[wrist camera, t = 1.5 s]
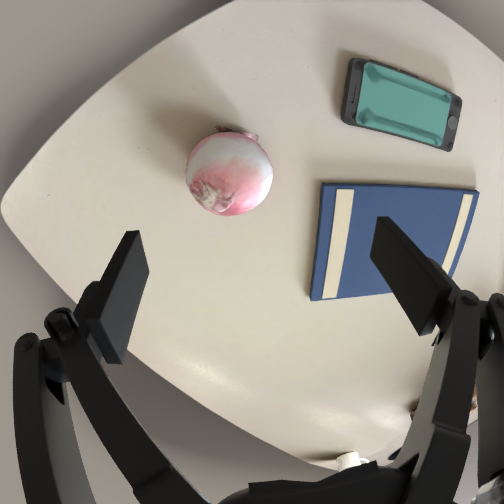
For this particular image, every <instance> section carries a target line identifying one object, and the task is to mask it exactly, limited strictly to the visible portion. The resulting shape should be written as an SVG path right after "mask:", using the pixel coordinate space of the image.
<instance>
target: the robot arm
mask: <svg viewBox="0 0 504 504" xmlns="http://www.w3.org/2000/svg"><path fill="white" fill-rule="evenodd" d="M370 259H371V260H372V262H373V263H374V265H375V266H376V268H377V269H378V271H379V272H380V274H381V275H382V277H383V278H384V280H385V281H386V283H387V284H388V286H389V287H390V289H391V290H392V292H393V294H394V295H395V297H396V298H397V300H398V302H399V303H400V305H401V306H402V308H403V310H404V311H405V313H406V315H407V316H408V318H409V320H410V321H411V323H412V325H413V326H414V328H415V330H416V331H417V333H418V335H419V336H423V335H427V334H431V333H432V332H433V330H434V328H435V326H436V324H437V325H438V327H439V329H440V330H439V332H438V334H437V336H436V338H435V340H434V342H433V344H432V345H431V346H434V344H435V347H434V351H433V355H432V359H431V363H430V367H429V371H428V374H427V378H426V381H425V384H424V388H423V391H422V394H421V397H420V400H419V404H418V406H417V409H416V412H415V415H414V418H413V421H412V423H411V426H410V429H409V431H408V434H407V436H406V439H405V441H404V444H403V446H402V448H401V451H400V453H399V454H398V456H397V457H396V459H395V460H394V462H393V463H392V465H391V466H390V467H387V466H378V465H377V462H376V460H375V461H372V462H368V463H365V464H361V465H357V466H353V467H349V468H346V469H344V470H342V471H340V472H339V473H336V474H334V475H332V476H330V477H328V478H325V479H323V480H321V481H318V482H300V481H288V480H276V481H266V482H254V483H248V484H249V488H246V489H243V490H240V491H238V492H235V493H233V494H231V495H230V496H228V497H226V498H225V499H224V500H222V501H221V502H220V503H218V504H457V503H455V502H453V499H454V496H455V493H456V490H457V488H458V485H459V482H460V479H461V475H462V472H463V469H464V466H465V462H466V458H467V455H468V451H469V447H470V442H471V437H470V435H467V434H466V428H467V424H468V419H469V414H470V409H471V404H472V398H473V392H474V385H475V380H476V391H477V405H478V435H479V436H478V437H479V438H478V439H479V440H478V441H479V442H478V487H479V491H478V492H477V495H476V496H475V497H474V498H473V499H472V501H471V504H504V296H503V295H502V294H499V293H494V294H492V295H491V297H490V299H489V301H479V299H478V297H477V296H476V295H475V294H474V293H472V292H470V291H467V290H460V288H459V287H458V286H457V285H456V283H455V282H454V281H453V280H452V279H451V277H450V276H449V275H447V273H446V272H445V270H443V268H442V267H441V266H440V265H439V264H438V262H436V261H435V260H433V259H432V258H430V257H426V256H425V254H424V253H423V252H422V251H421V250H420V249H419V248H418V247H417V246H416V244H415V243H414V242H413V241H412V240H411V239H410V238H409V237H408V236H407V235H406V234H405V233H404V232H403V231H402V229H401V228H400V227H399V226H398V225H397V224H396V223H395V222H394V221H393V220H392V219H391V218H390V217H389V216H377V221H376V226H375V232H374V237H373V242H372V247H371V252H370ZM148 275H149V268H148V264H147V260H146V256H145V252H144V248H143V244H142V240H141V236H140V231H139V230H135V231H126V233H125V234H124V236H123V238H122V240H121V242H120V243H119V245H118V247H117V249H116V251H115V253H114V255H113V256H112V258H111V260H110V262H109V264H108V266H107V268H106V270H105V272H104V274H103V276H102V278H101V280H100V281H93V282H91V283H90V284H89V285H88V286H87V287H86V288H85V290H84V292H83V294H82V297H81V298H80V300H79V303H78V304H77V306H76V308H75V310H74V312H73V313H72V311H71V310H70V309H69V308H65V307H64V308H63V307H62V308H58V309H55V310H53V311H52V312H50V313H49V314H48V316H47V317H46V318H45V321H44V326H45V328H46V330H47V332H48V333H49V335H50V336H51V338H47V339H43V340H39V338H38V336H37V335H36V334H35V333H26V334H24V335H23V336H21V337H20V338H19V339H18V340H17V342H16V344H15V347H14V363H13V412H14V427H15V438H16V448H17V455H18V462H19V468H20V474H21V480H22V485H23V489H24V493H25V498H26V502H27V504H96V502H95V499H94V496H93V493H92V491H91V488H90V485H89V482H88V479H87V475H86V472H85V469H84V466H83V463H82V459H81V455H80V451H79V447H78V443H77V440H76V436H75V431H74V427H73V422H72V417H71V412H70V407H69V401H68V394H67V389H66V382H69V381H70V382H71V385H72V387H73V389H74V391H75V393H76V395H77V397H78V399H79V401H80V403H81V405H82V407H83V409H84V411H85V413H86V415H87V416H88V418H89V420H90V422H91V424H92V426H93V428H94V429H95V431H96V433H97V434H98V436H99V438H100V440H101V441H102V443H103V445H104V446H105V448H106V449H107V451H108V453H109V454H110V455H111V457H112V459H113V460H114V462H115V463H116V465H117V466H118V468H119V469H120V470H121V472H122V473H123V475H124V476H125V478H126V479H127V480H128V482H129V483H130V485H131V486H132V488H133V493H134V495H135V497H136V498H137V500H138V501H139V502H140V504H211V503H210V502H209V501H208V500H207V499H206V498H205V497H204V496H203V495H202V494H201V493H200V492H199V491H198V490H197V489H196V488H195V487H194V486H193V485H192V484H191V483H190V482H189V481H188V480H187V479H186V478H185V477H184V476H183V475H182V473H180V471H179V470H178V469H177V468H176V467H175V466H174V464H173V463H172V462H171V461H170V460H169V459H168V458H167V457H166V455H165V454H164V453H163V452H162V450H161V449H160V448H159V447H158V446H157V445H156V443H155V442H154V441H153V439H152V438H151V437H150V436H149V434H148V433H147V432H146V430H145V429H144V428H143V427H142V425H141V424H140V422H139V421H138V420H137V418H136V417H135V415H134V414H133V413H132V412H131V410H130V409H129V407H128V406H127V404H126V403H125V401H124V400H123V398H122V397H121V395H120V394H119V392H118V391H117V389H116V388H115V386H114V385H113V383H112V381H111V380H110V378H109V377H108V375H107V374H106V372H105V370H104V368H103V367H102V365H101V363H100V361H101V358H102V355H103V357H104V359H105V360H106V362H107V363H108V364H123V362H124V357H125V354H126V350H127V346H128V342H129V339H130V335H131V331H132V328H133V324H134V321H135V317H136V314H137V310H138V307H139V304H140V300H141V297H142V294H143V291H144V288H145V284H146V281H147V278H148ZM493 338H494V339H493Z"/></svg>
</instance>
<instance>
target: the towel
mask: <svg viewBox="0 0 504 504" xmlns="http://www.w3.org/2000/svg"><path fill="white" fill-rule="evenodd" d="M478 197H479V192H478V191H477V190H466V189H455V188H442V187H427V186H410V185H388V184H349V183H322V189H321V200H320V212H319V222H318V232H317V241H316V250H315V259H314V267H313V275H312V283H311V291H310V300H311V301H319V300H330V299H340V298H349V297H359V296H368V295H376V294H384V293H392V290H391V289H390V287H389V286H388V284H387V283H386V281H385V280H384V278H383V277H382V275H381V274H380V272H379V271H378V269H377V268H376V266H375V265H374V263H373V262H372V260H371V259H370V252H371V247H372V242H373V237H374V232H375V226H376V221H377V216H389V217H390V218H391V219H392V220H393V221H394V222H395V223H396V224H397V225H398V226H399V227H400V228H401V229H402V231H403V232H404V233H405V234H406V235H407V236H408V237H409V238H410V239H411V240H412V241H413V242H414V243H415V244H416V246H417V247H418V248H419V249H420V250H421V251H422V252H423V253H424V254H425V256H426V257H430V258H432V259H433V260H435V261H436V262H438V264H439V265H440V266H441V267H442V268H443V270H445V272H446V273H447V275H449V276H450V277H451V278H452V276H453V273H454V271H455V268H456V266H457V263H458V261H459V258H460V255H461V252H462V250H463V247H464V244H465V241H466V238H467V235H468V232H469V229H470V225H471V222H472V219H473V215H474V212H475V208H476V205H477V201H478Z"/></svg>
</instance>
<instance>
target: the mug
mask: <svg viewBox="0 0 504 504" xmlns="http://www.w3.org/2000/svg"><path fill="white" fill-rule="evenodd" d="M336 460H337V465H338V469H339V472H340V471H342V470H344V469H346V468H349V467H353V466H357V465H360V461H365V462H366V463H368V462H369V461H368V460H367V459H363V458H360V459H359V457H358V453H357V452H350V453H346V454H343V455H341V456H339V457H337V459H336Z"/></svg>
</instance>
